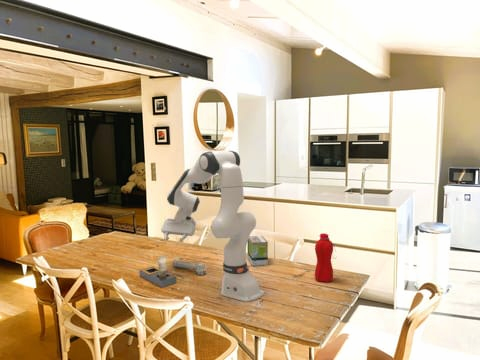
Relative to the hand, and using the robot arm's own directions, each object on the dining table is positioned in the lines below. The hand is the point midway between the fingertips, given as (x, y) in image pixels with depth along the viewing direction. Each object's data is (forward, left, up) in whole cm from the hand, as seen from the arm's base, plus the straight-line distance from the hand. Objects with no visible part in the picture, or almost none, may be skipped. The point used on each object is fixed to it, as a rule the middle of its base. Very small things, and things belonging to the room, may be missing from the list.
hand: (173, 240), depth 205 cm
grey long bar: (-2, -9, -20) cm, 22 cm away
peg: (-5, +11, -19) cm, 23 cm away
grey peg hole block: (0, +11, -19) cm, 22 cm away
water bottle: (-67, -51, -20) cm, 86 cm away
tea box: (-21, -47, -20) cm, 55 cm away
